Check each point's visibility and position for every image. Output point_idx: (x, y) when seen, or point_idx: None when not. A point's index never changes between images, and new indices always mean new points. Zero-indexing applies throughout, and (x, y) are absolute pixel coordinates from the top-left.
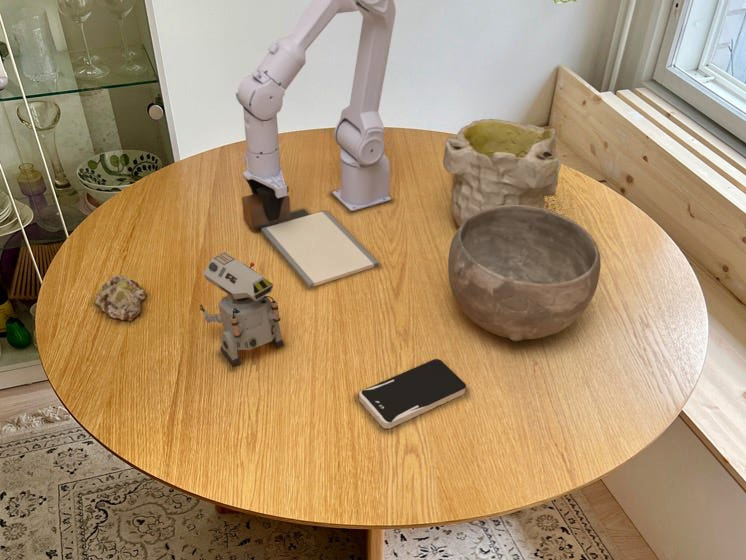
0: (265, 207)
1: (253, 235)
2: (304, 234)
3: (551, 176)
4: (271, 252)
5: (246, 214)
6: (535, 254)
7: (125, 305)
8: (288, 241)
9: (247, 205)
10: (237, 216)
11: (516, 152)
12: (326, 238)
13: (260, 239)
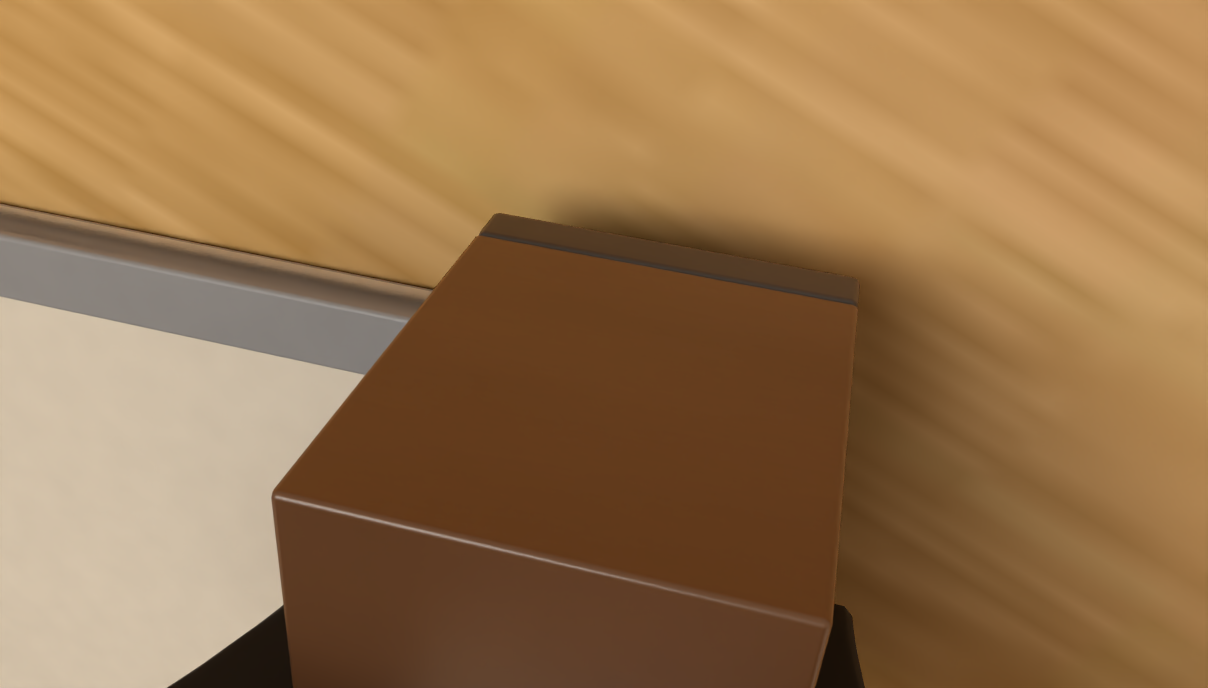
0: (238, 676)
1: (518, 175)
2: (158, 603)
3: None
4: (30, 131)
5: (665, 353)
6: None
7: None
8: (81, 410)
9: (466, 502)
10: (1191, 294)
11: None
12: (26, 681)
13: (373, 194)
